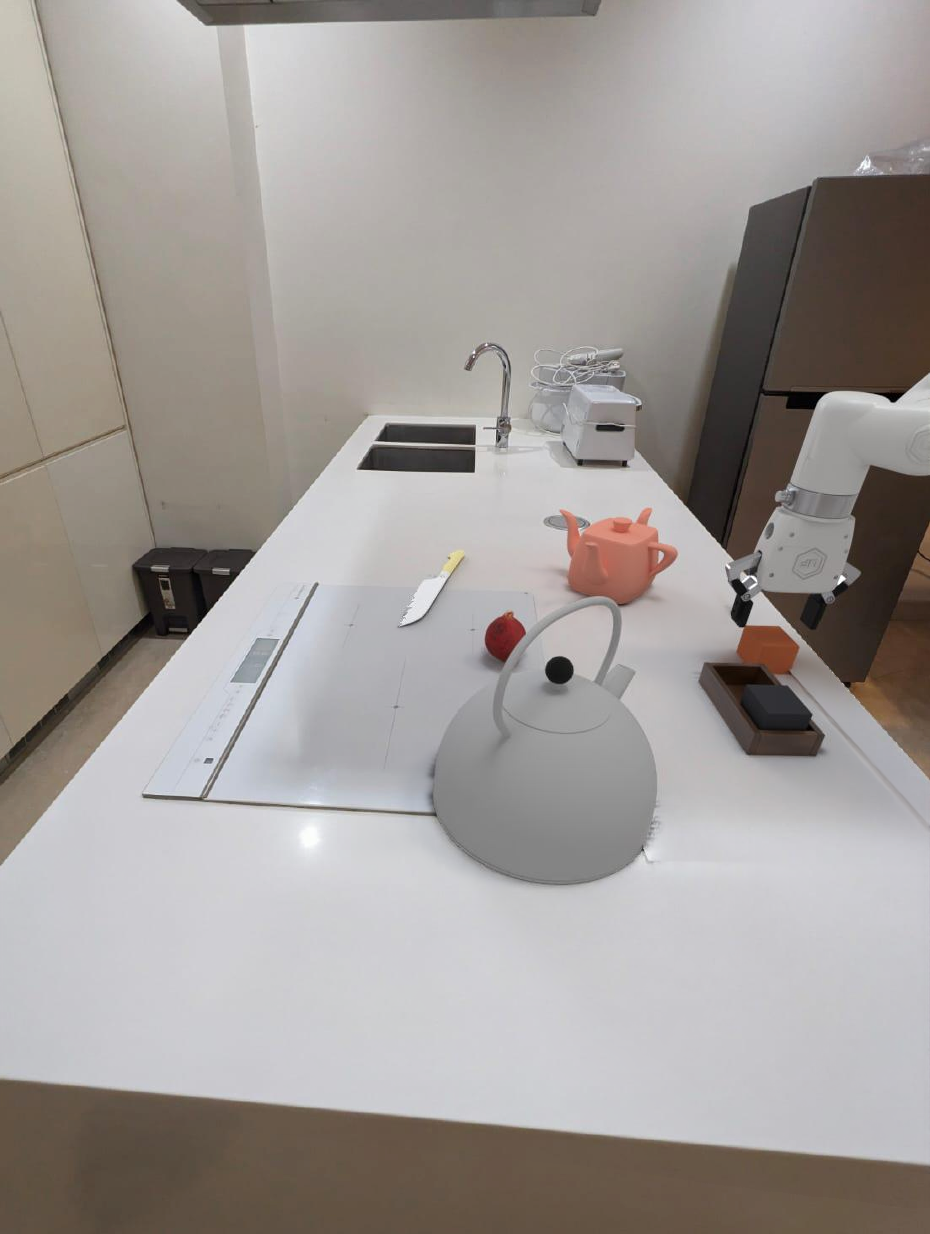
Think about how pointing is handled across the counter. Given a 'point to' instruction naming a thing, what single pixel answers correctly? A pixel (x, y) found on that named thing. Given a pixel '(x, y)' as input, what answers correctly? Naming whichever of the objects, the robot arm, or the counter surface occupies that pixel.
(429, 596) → the knife
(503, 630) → the red pomegranate
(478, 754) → the kettle
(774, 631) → the orange block
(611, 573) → the pot
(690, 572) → the counter surface
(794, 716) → the pad charcoal
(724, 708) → the brown wooden tray
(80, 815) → the counter surface
